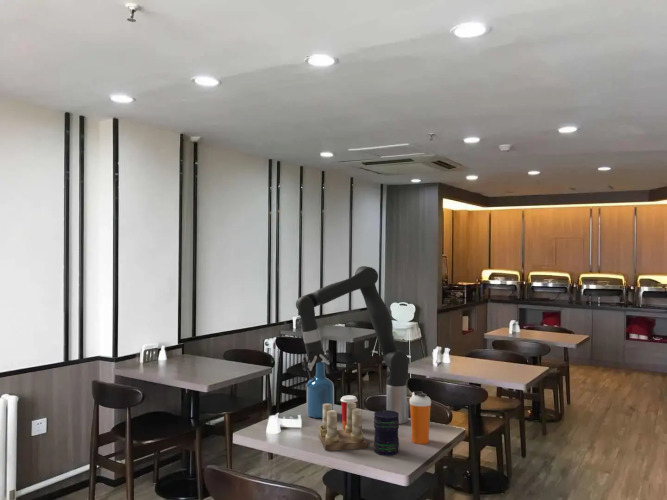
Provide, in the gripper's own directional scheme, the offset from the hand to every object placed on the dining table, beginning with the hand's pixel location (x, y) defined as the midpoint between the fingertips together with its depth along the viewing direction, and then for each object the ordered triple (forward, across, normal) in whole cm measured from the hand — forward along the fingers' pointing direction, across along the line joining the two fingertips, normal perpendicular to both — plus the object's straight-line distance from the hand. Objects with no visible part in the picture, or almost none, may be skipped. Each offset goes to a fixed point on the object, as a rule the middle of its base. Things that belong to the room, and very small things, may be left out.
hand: (320, 376), depth 245 cm
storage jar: (+30, +3, -34) cm, 45 cm away
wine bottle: (+23, +7, +23) cm, 33 cm away
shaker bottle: (+33, +23, -31) cm, 51 cm away
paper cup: (+26, +7, -2) cm, 27 cm away
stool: (+26, -5, -16) cm, 30 cm away
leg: (+22, -8, -9) cm, 25 cm away
